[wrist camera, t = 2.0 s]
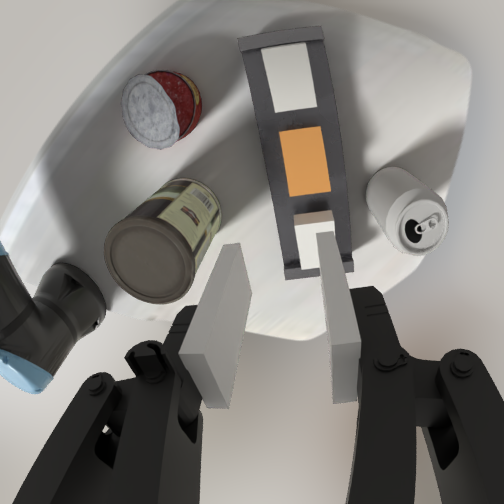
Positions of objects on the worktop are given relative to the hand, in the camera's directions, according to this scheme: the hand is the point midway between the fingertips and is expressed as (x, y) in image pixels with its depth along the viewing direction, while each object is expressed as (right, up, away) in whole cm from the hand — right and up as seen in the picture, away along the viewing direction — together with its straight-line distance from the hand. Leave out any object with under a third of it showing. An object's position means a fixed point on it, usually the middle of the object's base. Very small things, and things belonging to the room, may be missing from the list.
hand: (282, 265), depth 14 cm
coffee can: (-10, +6, +29) cm, 31 cm away
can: (+17, +9, +24) cm, 30 cm away
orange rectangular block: (+4, +10, +18) cm, 21 cm away
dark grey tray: (+5, +13, +23) cm, 27 cm away
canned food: (-12, +19, +22) cm, 32 cm away
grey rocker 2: (+2, +19, +14) cm, 23 cm away
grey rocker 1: (+6, +2, +22) cm, 23 cm away
